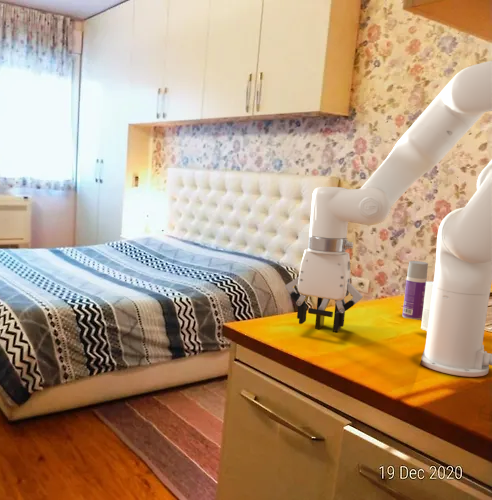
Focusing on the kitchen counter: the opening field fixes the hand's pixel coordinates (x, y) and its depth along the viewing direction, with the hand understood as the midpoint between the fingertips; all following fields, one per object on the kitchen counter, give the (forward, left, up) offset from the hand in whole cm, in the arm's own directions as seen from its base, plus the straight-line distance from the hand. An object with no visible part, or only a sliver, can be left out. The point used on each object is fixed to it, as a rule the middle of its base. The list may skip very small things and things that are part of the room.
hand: (319, 325), depth 112 cm
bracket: (0, -9, -4) cm, 10 cm away
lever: (0, -5, +4) cm, 6 cm away
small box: (-23, -24, -5) cm, 34 cm away
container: (-15, -39, -5) cm, 42 cm away
